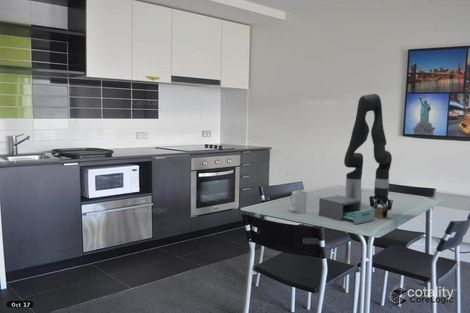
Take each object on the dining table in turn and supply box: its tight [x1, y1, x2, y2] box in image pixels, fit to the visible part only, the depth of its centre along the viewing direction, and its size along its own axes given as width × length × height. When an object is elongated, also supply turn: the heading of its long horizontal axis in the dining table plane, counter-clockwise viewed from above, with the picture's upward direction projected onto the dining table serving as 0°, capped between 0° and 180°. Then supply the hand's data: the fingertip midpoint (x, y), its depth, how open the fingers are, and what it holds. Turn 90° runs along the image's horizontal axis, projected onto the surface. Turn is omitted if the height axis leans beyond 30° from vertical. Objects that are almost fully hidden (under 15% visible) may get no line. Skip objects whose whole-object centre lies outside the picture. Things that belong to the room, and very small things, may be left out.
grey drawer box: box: [318, 194, 362, 222], centre depth 239 cm, size 16×16×10 cm
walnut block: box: [374, 206, 387, 219], centre depth 239 cm, size 5×5×5 cm
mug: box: [289, 190, 308, 214], centre depth 248 cm, size 10×7×12 cm, turn 52°
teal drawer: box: [343, 208, 376, 225], centre depth 232 cm, size 16×16×6 cm
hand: (380, 215), depth 239 cm, fingers open, 5 cm apart
